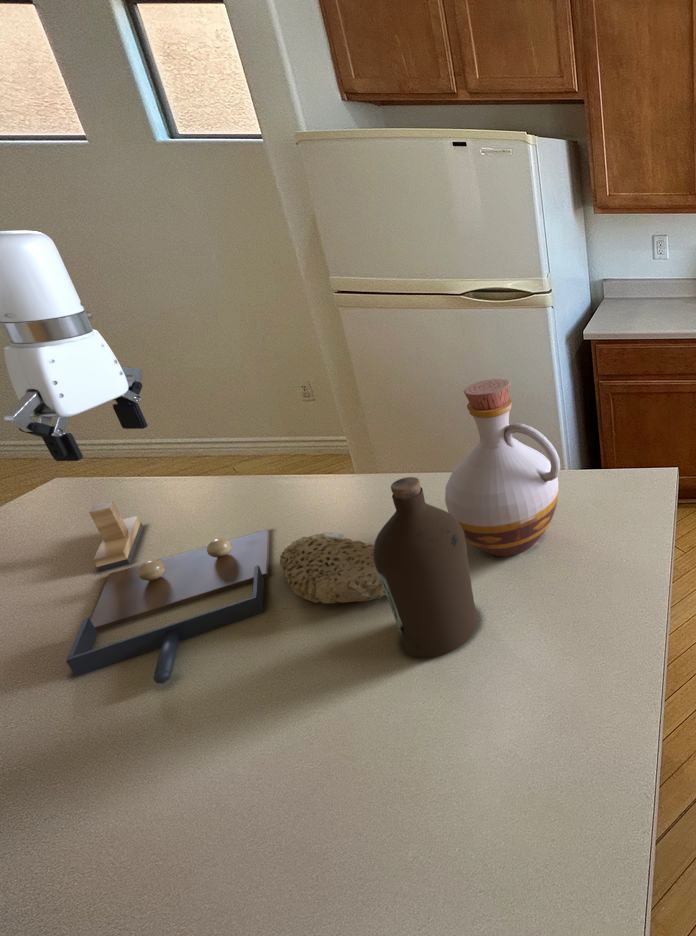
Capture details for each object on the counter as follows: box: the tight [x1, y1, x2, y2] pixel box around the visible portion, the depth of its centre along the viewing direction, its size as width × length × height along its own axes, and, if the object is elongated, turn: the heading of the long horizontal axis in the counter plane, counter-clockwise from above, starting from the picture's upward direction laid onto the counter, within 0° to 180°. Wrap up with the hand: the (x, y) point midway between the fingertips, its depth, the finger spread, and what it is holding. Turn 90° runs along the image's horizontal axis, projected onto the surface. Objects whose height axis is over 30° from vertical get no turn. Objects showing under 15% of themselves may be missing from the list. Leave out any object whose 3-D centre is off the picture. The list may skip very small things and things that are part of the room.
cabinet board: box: [90, 528, 271, 632], centre depth 87 cm, size 20×14×1 cm
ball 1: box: [138, 559, 165, 581], centre depth 85 cm, size 3×3×3 cm
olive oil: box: [373, 476, 478, 659], centre depth 73 cm, size 11×11×25 cm
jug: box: [444, 378, 561, 557], centre depth 91 cm, size 20×18×30 cm
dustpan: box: [65, 565, 265, 684], centre depth 75 cm, size 17×19×3 cm
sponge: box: [279, 532, 387, 604], centre depth 86 cm, size 13×8×20 cm
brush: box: [88, 500, 144, 573], centre depth 92 cm, size 12×4×9 cm, turn 36°
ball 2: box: [207, 538, 232, 557], centre depth 91 cm, size 3×3×3 cm
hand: (104, 443), depth 80 cm, fingers open, 9 cm apart
